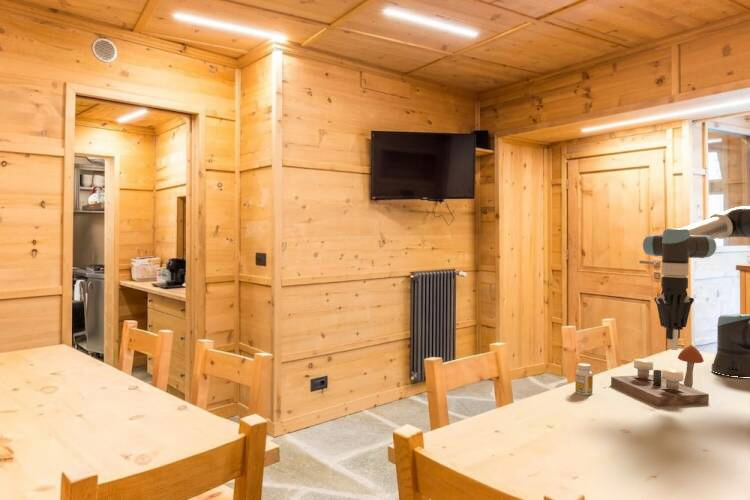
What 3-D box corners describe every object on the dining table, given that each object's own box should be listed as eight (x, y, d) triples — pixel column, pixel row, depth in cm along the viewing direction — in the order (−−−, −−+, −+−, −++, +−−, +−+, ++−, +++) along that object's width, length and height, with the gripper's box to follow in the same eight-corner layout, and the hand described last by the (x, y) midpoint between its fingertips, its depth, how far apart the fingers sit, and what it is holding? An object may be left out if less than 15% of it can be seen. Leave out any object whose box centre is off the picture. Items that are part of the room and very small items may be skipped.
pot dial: (657, 383, 181) (658, 368, 180) (662, 385, 178) (663, 370, 178) (651, 384, 180) (651, 368, 180) (656, 386, 178) (656, 370, 178)
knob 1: (645, 373, 189) (645, 358, 189) (656, 378, 184) (657, 362, 183) (630, 374, 188) (630, 359, 188) (641, 379, 182) (641, 363, 182)
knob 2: (673, 384, 176) (674, 368, 176) (687, 390, 170) (687, 373, 170) (657, 385, 175) (658, 369, 174) (671, 391, 169) (671, 373, 169)
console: (655, 382, 193) (656, 374, 193) (708, 403, 169) (708, 394, 169) (611, 385, 189) (611, 376, 189) (658, 406, 166) (658, 397, 166)
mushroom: (708, 390, 183) (709, 347, 183) (684, 390, 183) (685, 347, 183) (694, 384, 191) (695, 342, 191) (672, 383, 191) (673, 342, 191)
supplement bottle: (589, 390, 182) (590, 362, 182) (594, 395, 177) (595, 366, 177) (573, 390, 183) (573, 362, 182) (577, 395, 177) (578, 366, 177)
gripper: (683, 275, 176) (681, 346, 177) (648, 275, 174) (646, 347, 174) (701, 277, 169) (699, 351, 169) (665, 277, 166) (663, 352, 167)
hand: (672, 348), depth 172 cm, fingers closed
